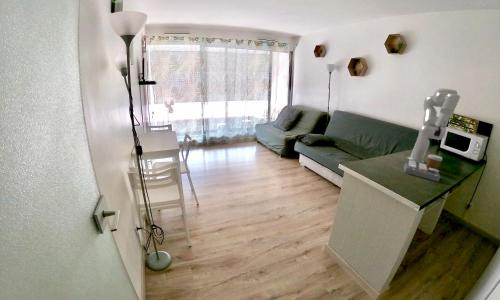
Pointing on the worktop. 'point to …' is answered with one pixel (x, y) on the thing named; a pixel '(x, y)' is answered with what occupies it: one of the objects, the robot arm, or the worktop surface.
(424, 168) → the block
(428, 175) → the rocker switch panel
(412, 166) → the block
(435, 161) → the disposable coffee cup
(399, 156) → the worktop surface
